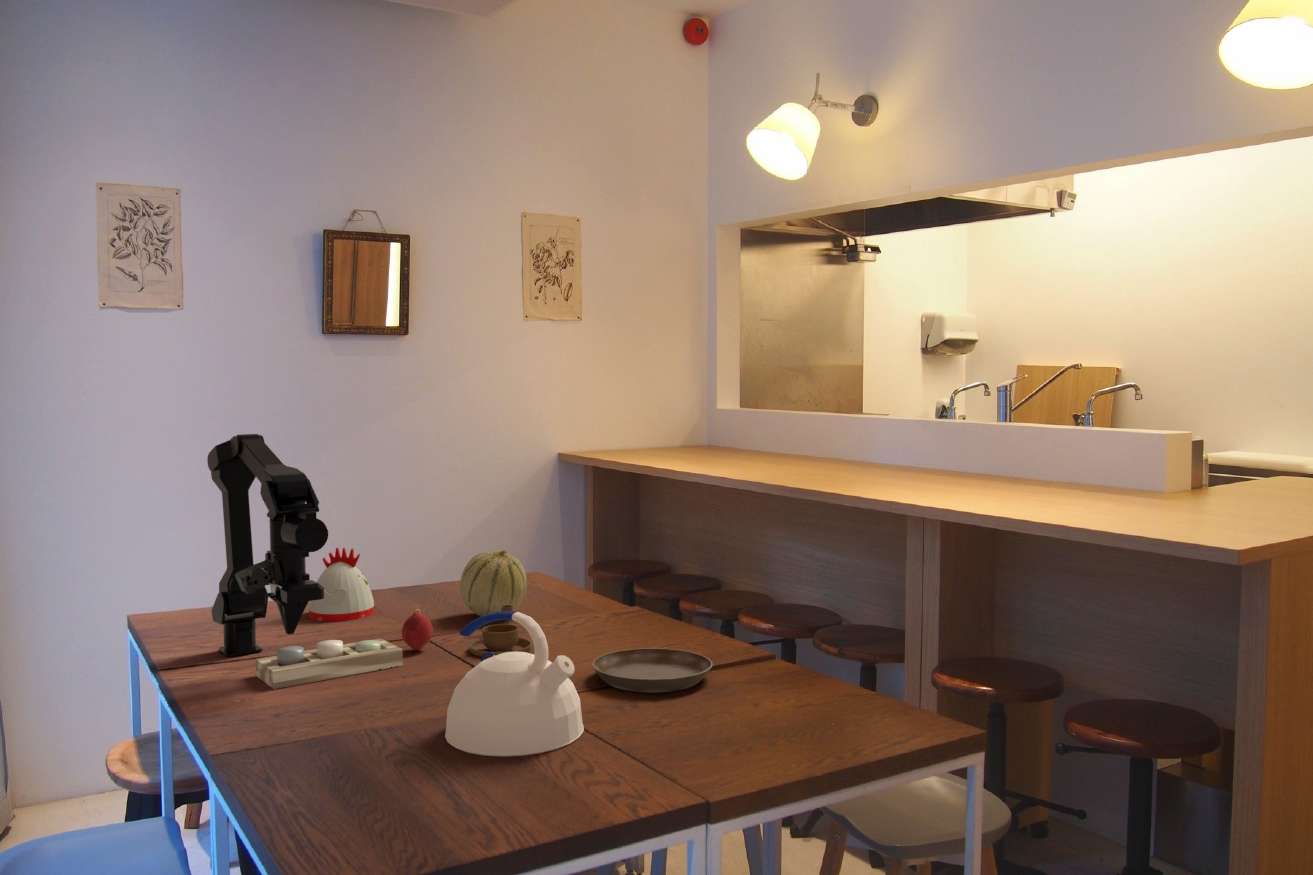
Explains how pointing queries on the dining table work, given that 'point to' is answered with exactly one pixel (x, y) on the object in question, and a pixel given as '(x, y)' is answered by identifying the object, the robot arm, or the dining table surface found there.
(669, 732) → the dining table surface
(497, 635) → the place setting
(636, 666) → the plant saucer
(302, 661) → the button slate
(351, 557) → the kitchen timer
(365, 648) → the button sage
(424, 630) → the onion
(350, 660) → the wooden compartment tray
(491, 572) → the cantaloupe
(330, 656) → the button cream
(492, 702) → the kettle
